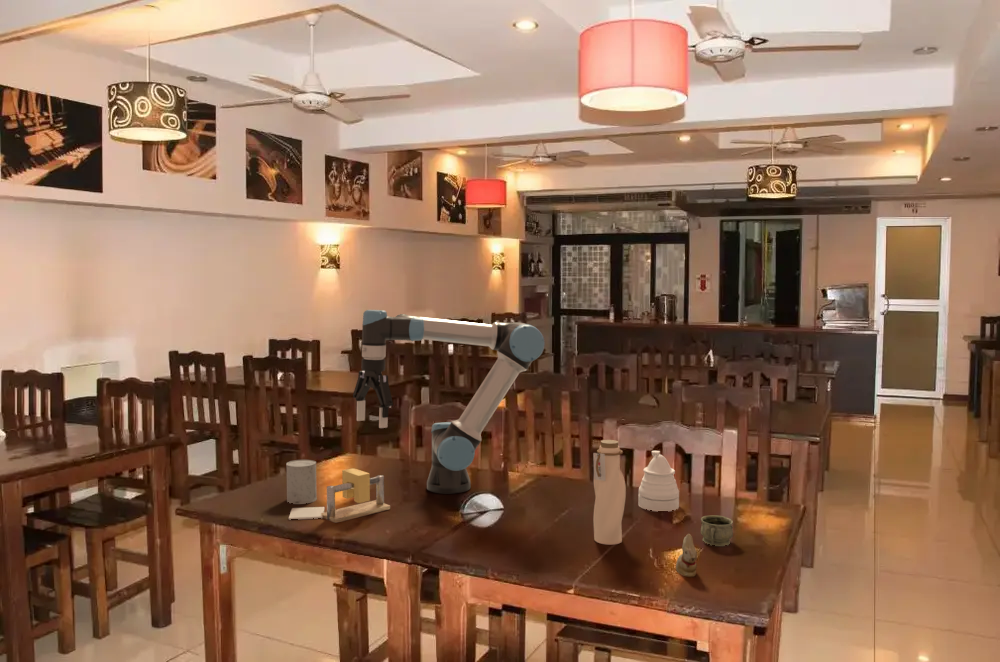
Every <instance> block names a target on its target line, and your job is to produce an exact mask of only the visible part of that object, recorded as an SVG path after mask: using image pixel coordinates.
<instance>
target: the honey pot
mask: <svg viewBox="0 0 1000 662" xmlns="http://www.w3.org/2000/svg"><path fill="white" fill-rule="evenodd" d="M651 455H652V456H653V457H652V459H651V460H650V461H649V463H648V465H647V466H646V467H644V468H643V473H644V475H643V477H642V479H641V481H640V486H639V487H638V499H637V500H638V503H637V505H638V507H639V508H641V509H643V510H646V509H647V510H646V511H650V510H652V511H651V512H658V511H668V512H673V511H672V510H674V511H676V509H677V510H679V508H680V490H679V488H678V484H677V480H676V479H675V476H674V475H675V474H676V470H675V469H674V468H672V467H671V465H670V463H669V461H668V460H667V458H666V457H665V456H664V455H662V454H661V451H660V450H652V451H651Z"/></svg>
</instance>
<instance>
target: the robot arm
mask: <svg viewBox="0 0 1000 662" xmlns="http://www.w3.org/2000/svg"><path fill="white" fill-rule="evenodd" d="M361 331H362V332H361V333H362V334H361V337H362V338H361V339H362V340H361V341H362V342H361V345H362V347H361V357H362V359H361V364H360V365H361V370H359V371H358V377H357V380H356V383H355V387H354V389H353V394H352V397H353V399H355V400H356V421H357V422H361V421H363V422H364V421H366V396H367V394H368V392H369V391H370V389H371V388H372V389H373V390H374V391H375V394H376V396H377V399H378V402H379V404H380V405H379V410H378V412H379V415H378V428H379V429H384V428H385V429H387V428H388V424H389V423H388V422H389V421H388V420H389V419H388V418H389V408H390V407H392V406H394V403H393V398H392V393H391V389H390V386H389V376H388V375H385V374H384V375H383V372H384V371H386V359H385V358H386V357H387V356H386V354H387V353H386V352H387V341H406V342H407V341H408V342H409V341H411V342H414V341H417V342H418V341H422V340H425V341H436V342H437V341H438V342H445V343H454V344H463V345H464V344H465V345H472V346H483V347H489V348H490V349H491V350H493V351H496V354H497V359H496V361H495V363H494V364H493V366H492V367H491V369H490V370H489V372H488V373H487V375H486V376H485V378H484V380H483V381H482V382H481V384H480V386H479V387H478V389H477V390H476V391H475V394H474V395H473V397H472V398H471V399H470V401H469V402H468V404H467V406H466V407H465V409H464V411H463V412H462V413H461V415H460V417H459V418H458V419H454V420H452V421H446V422H444V421H443V422H435V423H433V424H432V425H431V430H430V431H431V432H430V433H431V468H430V471H429V474H428V478H427V480H426V490H427V491H429V492H431V493H434V494H444V495H447V494H448V495H450V494H460V493H465V492H468V491H469V490H470V489H471V479H470V475H469V473H468V469H467V468H468V467H469V466H470V465H472V463H473V461H474V458H475V454H476V453H475V452H476V450H477V448H478V446H479V445H480V443H481V442H482V436H481V434H482V432H483V430H484V429H485V428H486V426H487V425H488V424H489V423H488V422H490V420H491V418H492V417H493V415H494V413H495V411H496V410H497V409H498V408H499V406H500V404H501V403H502V401H503V399H504V398H505V396H506V395H507V393H508V392H509V390H510V388H511V387H512V385H513V384H514V382H515V381H516V379H517V377H518V376H519V374H520V373H523V372H526V371H527V370H528V369H529V367H530V366H531V364H532V363H533V361H535V360H537V359H538V358H539V357H541V355H543V352H544V350H545V337H544V335H543V334H542V332H541V331H540V330H539V329H538V328H537V327H536V326H533V325H532V324H530V323H529V324H528V323H524V322H519V321H518V322H516V321H515V322H498V321H494V322H493V323H491V324H488V323H481V322H480V323H478V322H469V321H461V320H451V319H444V318H433V317H425V316H416V315H407V314H406V313H405V314H404V313H403V314H401V313H400V314H398V315H396V316H389V315H388V313H387V311H386V310H383V309H381V310H380V309H366V310H364V311H363V315H362V330H361Z"/></svg>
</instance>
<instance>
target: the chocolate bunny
mask: <svg viewBox="0 0 1000 662" xmlns="http://www.w3.org/2000/svg"><path fill="white" fill-rule="evenodd" d="M681 548H682V549H681V550H682V554H680V555H679V556H678V557H677V560H676V564H675V569H676V572H677V573H678V575H681V576H683V577H686V578H694V577H696V575H697V571H696V569H697V568H698V567H697V566H698V565H697V559H698V552H697V549H696V547H695V544H694V539H693V536H692V535H691V534H690V533H687V534H686V536H684V538H683V542H682V546H681Z"/></svg>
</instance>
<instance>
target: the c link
mask: <svg viewBox="0 0 1000 662" xmlns="http://www.w3.org/2000/svg"><path fill="white" fill-rule="evenodd" d="M341 471H342V473H341V474H342V475H341V476H342V480H341V481H342V484H345V483H353V484H354V488H353V489H349V490H344V491H342V498H344V499H347V500H348V499H351V498H354V499H353V501H354V502H355V503H357V504H361V503H366V502H370V501H371V498H370V497H371V494H370V493H371V492H370V491H371V488H370V486H371V485H370V478H371V477H370V475H371V474H370V473H369V472H366V471H363V470H360V469H357V468H354V467H352V468H347V469H342V470H341Z"/></svg>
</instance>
